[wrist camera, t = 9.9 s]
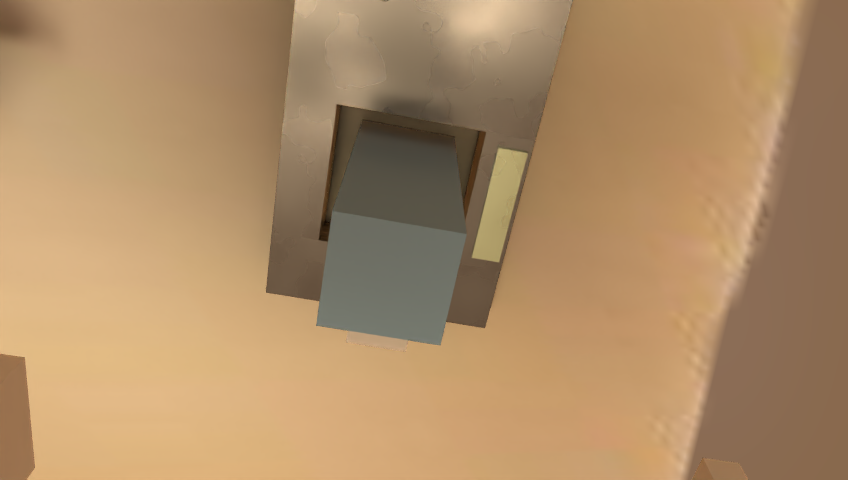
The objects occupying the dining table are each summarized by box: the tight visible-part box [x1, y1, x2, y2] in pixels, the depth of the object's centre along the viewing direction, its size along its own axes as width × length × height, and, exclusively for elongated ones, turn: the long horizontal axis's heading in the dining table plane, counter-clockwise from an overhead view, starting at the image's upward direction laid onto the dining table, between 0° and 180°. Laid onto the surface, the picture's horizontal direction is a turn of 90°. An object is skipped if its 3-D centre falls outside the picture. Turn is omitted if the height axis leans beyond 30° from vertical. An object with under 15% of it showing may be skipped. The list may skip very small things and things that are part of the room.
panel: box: [266, 0, 573, 328], centre depth 26 cm, size 24×10×2 cm, turn 169°
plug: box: [316, 120, 467, 352], centre depth 25 cm, size 5×4×10 cm
